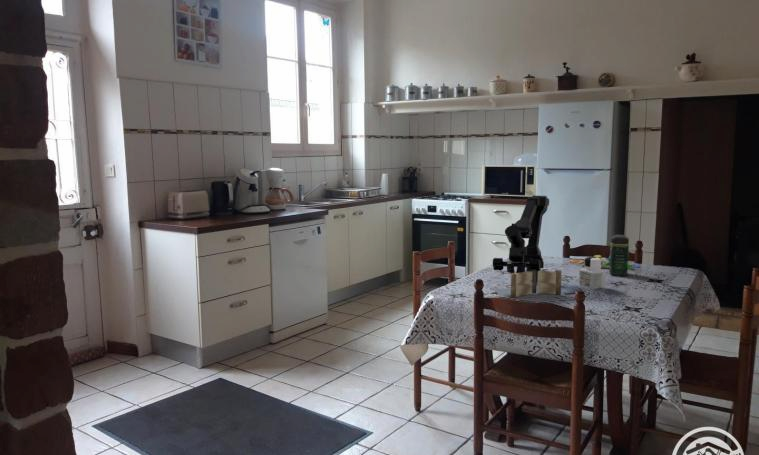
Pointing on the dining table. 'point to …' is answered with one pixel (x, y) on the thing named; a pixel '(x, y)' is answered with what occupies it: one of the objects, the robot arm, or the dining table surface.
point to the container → (592, 274)
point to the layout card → (507, 293)
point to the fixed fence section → (549, 282)
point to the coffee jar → (619, 255)
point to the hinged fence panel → (523, 283)
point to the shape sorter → (605, 263)
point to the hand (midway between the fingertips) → (514, 282)
